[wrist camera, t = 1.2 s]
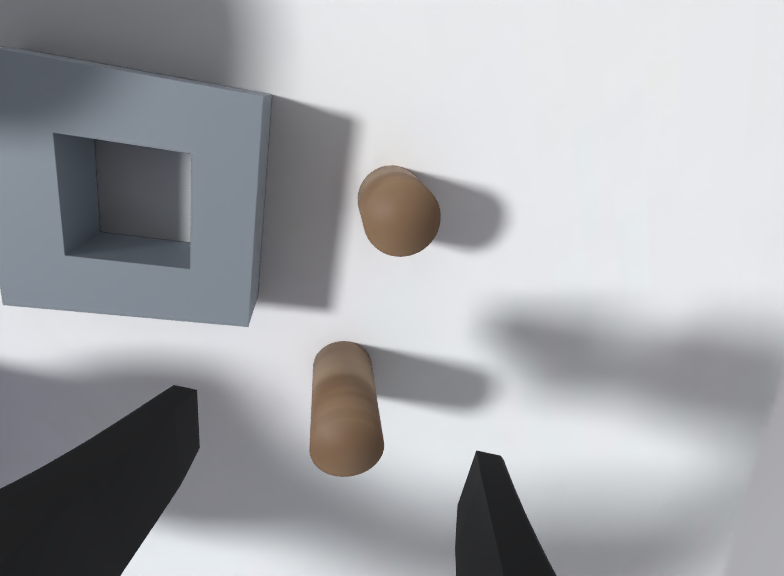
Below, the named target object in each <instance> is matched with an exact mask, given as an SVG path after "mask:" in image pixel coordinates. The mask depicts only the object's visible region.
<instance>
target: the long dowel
mask: <svg viewBox="0 0 784 576" xmlns="http://www.w3.org/2000/svg"><path fill="white" fill-rule="evenodd" d="M383 450H384V440H383V434H382V428H381V421H380V415H379V409H378V403H377V396H376V390H375V384H374V378H373V372H372V365H371V360H370V357H369V355H368V353H367V352H366V351H365V350H364V349H363V348H362V347H361V346H359V345H357V344H355V343H352V342H345V341H342V342H335V343H332V344H329V345H327V346H326V347H324V348H323V349H322V350H321V351H320V352H319V353H318V354H317V356H316V357H315V360H314V364H313V384H312V406H311V428H310V450H309V451H310V456H311V459H312V461H313V463H314V464H315V465H316V466H317V467H318V468H319V469H320V470H322V471H323V472H325V473H327V474H330V475H334V476H340V477H348V476H354V475H358V474H361V473H363V472H365V471H367V470H369V469H370V468H372V467H373V466H374V465H375V464H376V463H377V462H378V461H379V459H380V458H381V456H382V454H383Z"/></svg>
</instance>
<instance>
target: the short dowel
mask: <svg viewBox="0 0 784 576" xmlns="http://www.w3.org/2000/svg"><path fill="white" fill-rule="evenodd" d="M358 207H359V211H360V214H361V218H362V222H363V226H364V229H365V233H366V235H367V237H368V239H369V240H370V242H371V243H372V244H373V245H374V246H375V247H376V248H377V249H378V250H380V251H381V252H383V253H385V254H388V255H391V256H398V257H403V256H410V255H413V254H416V253H418V252H420V251H421V250H423V249H424V248H426V247H427V246H428V245H429V244H430V243H431V242H432V240H433V239H434V237H435V236H436V234H437V232H438V229H439V225H440V209H439V205H438V202H437V200H436V199H435V197H434V195H433V194H432V193H431V192H430V191H429V190H428V189H427V188H426V187H425V186H424V185H423V184H422V183H421V182H420V180H419V179H418V178H417V177H416V176H415V175H414V174H413V173H411V172H410V171H409V170H407V169H405V168H402V167H399V166H384V167H381V168H378V169H376V170H374V171H373V172H371V173H370V174H369V175H368V176H367V177H366V178H365V179H364V181H363V182H362V184H361V186H360V189H359V192H358Z"/></svg>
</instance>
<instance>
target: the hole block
mask: <svg viewBox="0 0 784 576" xmlns="http://www.w3.org/2000/svg"><path fill="white" fill-rule="evenodd" d="M271 104H272V94H267V93H261V92H256V91H250V90H245V89H239V88H234V87H228V86H223V85H217V84H212V83H206V82H201V81H195V80H190V79H184V78H179V77H173V76H167V75H162V74H156V73H151V72H145V71H140V70H134V69H129V68H123V67H118V66H112V65H107V64H101V63H96V62H90V61H85V60H79V59H74V58H68V57H63V56H57V55H52V54H46V53H41V52H35V51H30V50H24V49H18V48H9V47H0V289H1V295H2V302H3V305H9V306H20V307H31V308H42V309H54V310H65V311H76V312H87V313H98V314H109V315H120V316H132V317H143V318H154V319H165V320H176V321H187V322H199V323H210V324H221V325H232V326H243V327H248V326H249V323H250V319H251V316H252V313H253V310H254V307H255V304H256V301H257V298H258V286H259V272H260V258H261V244H262V230H263V216H264V202H265V188H266V174H267V160H268V146H269V132H270V118H271ZM94 139H99V140H105V141H112V142H118V143H125V144H131V145H138V146H144V147H151V148H157V149H164V150H170V151H177V152H183V153H190V154H191V241H190V243H187V242H179V241H170V240H162V239H154V238H145V237H137V236H129V235H120V234H112V233H103V232H100V222H99V206H98V191H97V175H96V160H95V145H94Z"/></svg>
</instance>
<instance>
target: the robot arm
mask: <svg viewBox="0 0 784 576" xmlns="http://www.w3.org/2000/svg"><path fill="white" fill-rule="evenodd" d="M199 448H200V445H199V424H198V403H197V390H194V389H190V388H185V387H180V386H176V385H173V386H172V387H170V388H169V389H167V390H166V391H164V392H162V393H161V394H159V395H158V396H156V397H155V398H153V399H152V400H150V401H148V402H147V403H145V404H144V405H142V406H141V407H139V408H138V409H136V410H135V411H133V412H132V413H130V414H129V415H127V416H126V417H124V418H123V419H121V420H119V421H118V422H116V423H115V424H113V425H112V426H110V427H108V428H107V429H105V430H104V431H102V432H100V433H99V434H97V435H96V436H94V437H92V438H91V439H89V440H88V441H86V442H84V443H83V444H81V445H79V446H78V447H76V448H74V449H72V450H71V451H69V452H67V453H66V454H64V455H62V456H60V457H59V458H57V459H55V460H54V461H52V462H50V463H48V464H47V465H45V466H43V467H41V468H39V469H38V470H36V471H34V472H32V473H30V474H28V475H26V476H24V477H23V478H21V479H19V480H17V481H15V482H13V483H11V484H9V485H7V486H5V487H3V488H1V489H0V576H121V574H122V572H123V571H124V569H125V568H126V566H127V565H128V563H129V562H130V560H131V559H132V557H133V556H134V554H135V553H136V551H137V550H138V548H139V547H140V545H141V544H142V543H143V541H144V540H145V538H146V537H147V535H148V534H149V532H150V531H151V529H152V528H153V526H154V525H155V523H156V522H157V520H158V519H159V517H160V516H161V514H162V513H163V511H164V510H165V508H166V507H167V505H168V504H169V502H170V501H171V499H172V497H173V496H174V494H175V493H176V491H177V490H178V488H179V487H180V485H181V483H182V481H183V479H184V478H185V476H186V474H187V472H188V470H189V468H190V466H191V464H192V462H193V460H194V458H195V456H196V454H197V452H198V450H199ZM455 556H456V576H556V574H555V572H554V570H553V568H552V566H551V564H550V563H549V561H548V559H547V557H546V555H545V553H544V551H543V549H542V547H541V545H540V543H539V541H538V539H537V536H536V534H535V532H534V530H533V528H532V526H531V524H530V522H529V520H528V518H527V515H526V513H525V511H524V509H523V506H522V504H521V502H520V499H519V497H518V495H517V492H516V490H515V488H514V485H513V483H512V480H511V478H510V475H509V473H508V470H507V467H506V465H505V462H504V460H503V458H502V457H501V456H499V455H495V454H490V453H486V452H481V451H476V453H475V456H474V459H473V462H472V465H471V468H470V471H469V474H468V476H467V479H466V482H465V485H464V488H463V491H462V494H461V497H460V500H459V502H458V508H457V523H456V541H455Z"/></svg>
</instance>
